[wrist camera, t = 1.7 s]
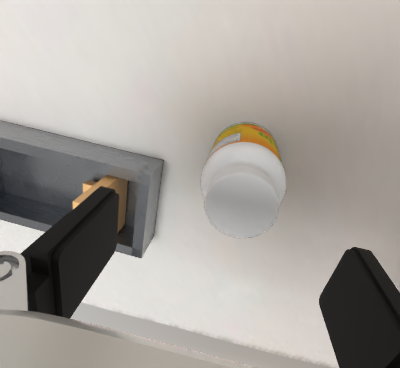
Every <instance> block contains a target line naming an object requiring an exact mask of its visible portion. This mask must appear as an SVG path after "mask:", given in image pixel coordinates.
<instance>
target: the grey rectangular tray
mask: <svg viewBox="0 0 400 368" xmlns="http://www.w3.org/2000/svg"><path fill="white" fill-rule="evenodd" d="M163 161H164V160H160V159H156V158H152V157H148V156H144V155H140V154H135V153H131V152H127V151H123V150H119V149H115V148H111V147H107V146H103V145H98V144H94V143H90V142H86V141H82V140H78V139H74V138H70V137H66V136H61V135H57V134H53V133H49V132H45V131H41V130H37V129H33V128H29V127H24V126H20V125H16V124H12V123H8V122H4V121H0V220H4V221H8V222H11V223H15V224H19V225H22V226H26V227H29V228H33V229H37V230H40V231H44V232H46V231H47V230H49V229H50V228H51V227H52V226H53V225H54V224H56V223H57V222H58V221H59V220H60V219H61V218H62V217H64V216H65V215H66V214H67V213H69V212H71V211H72V210H73V201H74V200H75V199H76V198H78V197H79V196H80V195H82V194H83V183H84V182H85V181H87V180H89V181H93V182H98V181H100V180H101V179H102V178H104V177H105V176H106V175H110V176H114V177H118V178H122V179H126V180H128V185H127V199H126V214H125V224H124V226H123V227H122V228H121V230H120V231H119V232H118V233H117V246H116V250H115V251H117V252H120V253H124V254H128V255H131V256H135V257H138V258H142V256H143V255H144V253H145V251H146V249H147V247H148V246H149V244H150V242H151V240H152V239H153V237H154V230H155V222H156V214H157V207H158V199H159V192H160V184H161V176H162V169H163Z"/></svg>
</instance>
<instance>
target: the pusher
mask: <svg viewBox="0 0 400 368" xmlns="http://www.w3.org/2000/svg"><path fill="white" fill-rule="evenodd" d="M127 185H128V180H126V179H122V178H118V177H114V176H110V175H106V176H105V177H104V178H102V179H101V180H100V181H98V182H93V181H89V180H87V181H85V182H84V183H83V194H82V195H80V196H79V197H78V198H76V199H75V200H74V201H73V209H74V208H76V207H77V206H78V205H79V204H80V203H81V202H82V201H84V200H85V199H86V198H87V197H88V196H89V195H91V194H92V193H93V192H94V191H95V190H96V189H97V188H99V187H100V186H103V187H107V188H112V189H115V191H116V193H117V194H119V212H118V232H119V231H120V230H121V228H122V227H123V226H124V224H125V214H126V199H127ZM118 232H117V233H118Z"/></svg>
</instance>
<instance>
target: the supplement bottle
mask: <svg viewBox="0 0 400 368" xmlns="http://www.w3.org/2000/svg"><path fill="white" fill-rule="evenodd" d="M201 190H202V194H203V196H204V199H205V201H204V207H205V212H206V215H207V218H208V219H209V221H210V223H211V224H212V225H213V226H214V227H215V228H216V229H217V230H219V231H220V232H222V233H223V234H226V235H228V236H231V237H235V238H250V237H254V236H258V235H260V234H262V233H264V232H265V231H267V230H268V229H269V228H270V227H271V226H272V225H273V223H274V222H275V220H276V218H277V216H278V212H279V205H280V203H281V202H282V200H283V197H284V195H285V191H286V175H285V171H284V168H283V165H282V162H281V159H280V156H279V152H278V149H277V146H276V143H275V141H274V139H273V137H272V136H271V134H270V133H269V132H268V131H267V130H266V129H265V128H263V127H261V126H259V125H257V124H254V123H247V122H246V123H238V124H234V125H232V126H230V127H228V128H227V129H225V130H224V131H223V132H222V133H221V134H220V135H219V137H218V138H217V140H216V142H215V144H214V146H213V148H212V150H211V152H210V155H209V157H208V159H207V161H206V163H205V166H204V168H203V171H202V175H201Z"/></svg>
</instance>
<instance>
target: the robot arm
mask: <svg viewBox="0 0 400 368" xmlns="http://www.w3.org/2000/svg"><path fill="white" fill-rule="evenodd" d="M118 212H119V194H117V193H116V191H115V189H112V188H107V187H103V186H100V187H99V188H97V189H96V190H95V191H94V192H93V193H92V194H91V195H89V196H88V197H87V198H86V199H85V200H84V201H82V202H81V203H80V204H79V205H78V206H77V207H76V208H74V209H73V210H72V211H71V212H69V213H67V214H66V215H65V216H64V217H62V218H61V219H60V220H59V221H58V222H57V223H56V224H54V225H53V226H52V227H51V228H50V229H49V230H47V231H46V232H45V233H44V234H43V235H42V236H40V237H39V238H38V239H37V240H36V241H35V242H34V243H32V244H31V245H30V246H29V247H28V248H27V249H25V250H24V251H23V252H22V253H21V254H19V253H16V252H10V251H2V252H0V368H256V367H252V366H249V365H245V364H241V363H237V362H234V361H230V360H226V359H223V358H219V357H215V356H212V355H208V354H204V353H200V352H196V351H193V350H189V349H186V348H182V347H178V346H174V345H170V344H167V343H163V342H159V341H155V340H151V339H148V338H144V337H140V336H136V335H132V334H129V333H125V332H121V331H117V330H113V329H110V328H105V327H102V326H97V325H93V324H89V323H85V322H81V321H77V320H73V319H70V318H71V316H72V315H73V313H74V312H75V310H76V308H77V307H78V306H79V304H80V303H81V301H82V300H83V298H84V297H85V295H86V294H87V292H88V291H89V289H90V288H91V286H92V285H93V283H94V282H95V280H96V279H97V277H98V276H99V274H100V273H101V271H102V270H103V268H104V267H105V265H106V264H107V263H108V261H109V260H110V258H111V257H112V255H113V254H114V252H115V250H116V246H117V232H118ZM319 305H320V308H321V311H322V314H323V318H324V321H325V324H326V327H327V330H328V333H329V336H330V340H331V343H332V346H333V349H334V352H335V355H336V358H337V362H338V365H339V368H400V293H399V291H398V290H397V288H396V287H395V285H394V284H393V282H392V281H391V279H390V278H389V277H388V275H387V274H386V272H385V271H384V269H383V268H382V266H381V265H380V263H379V262H378V260H377V259H376V258H375V256H374V255H373V253H372V252H371V251H369V250H365V249H361V248H357V247H353V248H351V249H348V250H346V251H345V253H344V255H343V256H342V258H341V260H340V262H339V264H338V265H337V267H336V269H335V271H334V272H333V274H332V276H331V278H330V279H329V281H328V283H327V285H326V286H325V288H324V290H323V292H322V293H321V295H320V298H319Z"/></svg>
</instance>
